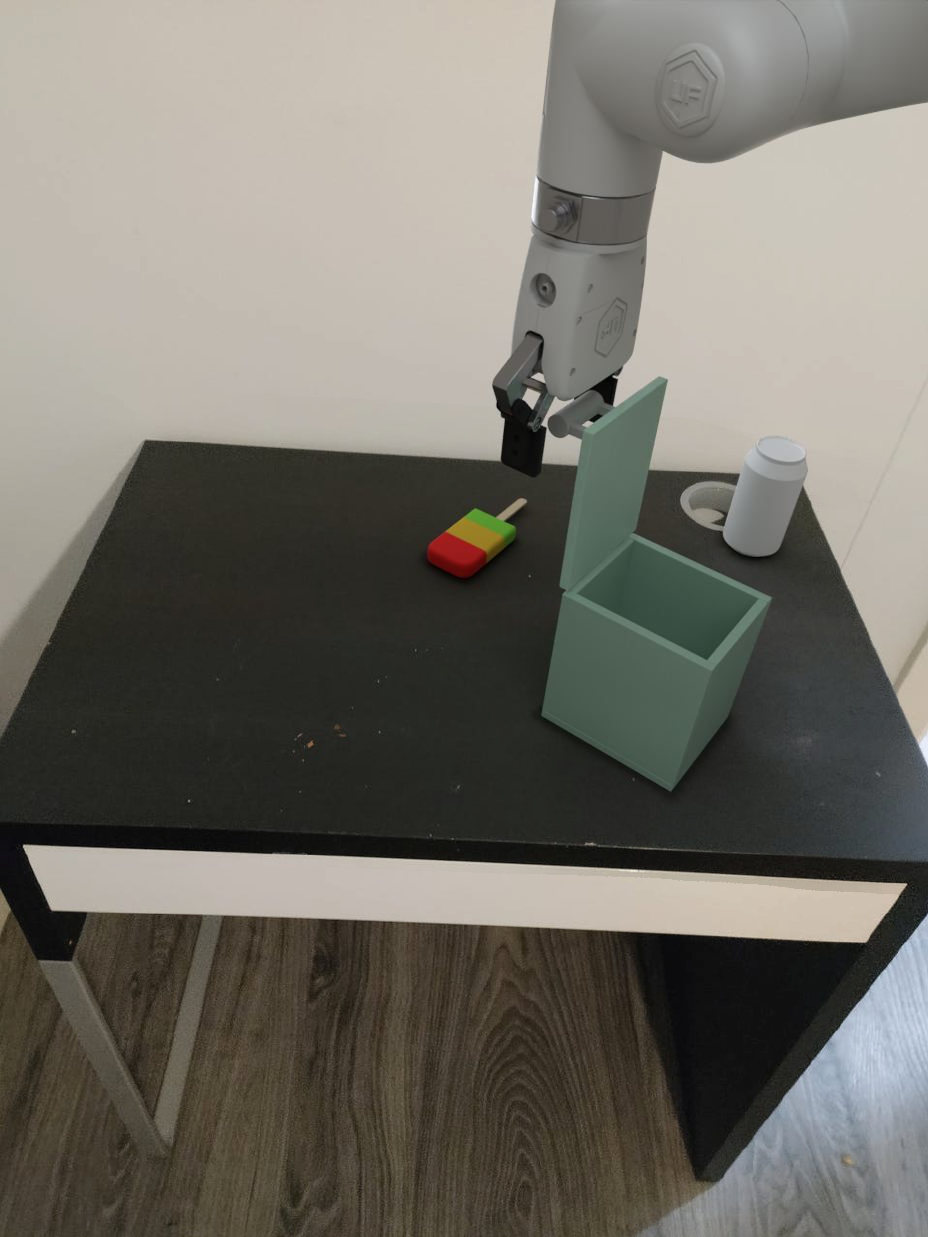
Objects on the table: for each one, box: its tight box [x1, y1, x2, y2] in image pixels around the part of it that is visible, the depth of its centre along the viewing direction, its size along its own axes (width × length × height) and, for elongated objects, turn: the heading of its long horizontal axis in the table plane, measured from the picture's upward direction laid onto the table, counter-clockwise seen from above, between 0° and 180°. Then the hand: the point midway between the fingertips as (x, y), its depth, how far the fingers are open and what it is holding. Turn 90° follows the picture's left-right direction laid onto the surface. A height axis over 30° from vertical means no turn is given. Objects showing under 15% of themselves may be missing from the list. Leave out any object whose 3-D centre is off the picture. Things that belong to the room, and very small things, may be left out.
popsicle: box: [426, 497, 528, 579], centre depth 98 cm, size 6×15×2 cm, turn 145°
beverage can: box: [722, 435, 809, 558], centre depth 96 cm, size 6×6×12 cm
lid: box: [546, 375, 669, 591], centre depth 70 cm, size 14×11×5 cm
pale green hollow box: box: [540, 532, 773, 792], centre depth 76 cm, size 13×11×14 cm
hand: (556, 443), depth 70 cm, fingers open, 9 cm apart
